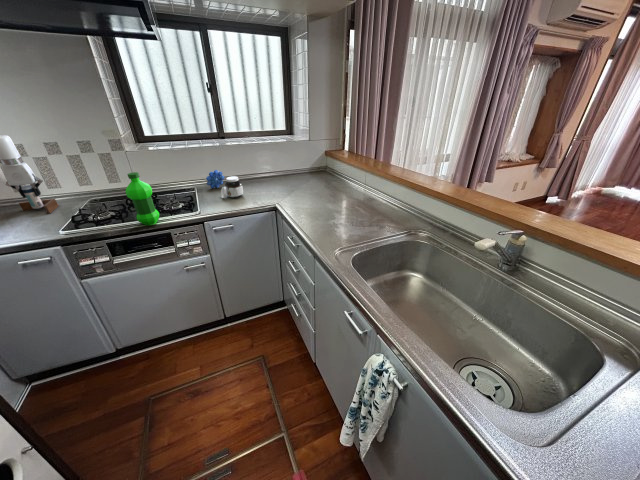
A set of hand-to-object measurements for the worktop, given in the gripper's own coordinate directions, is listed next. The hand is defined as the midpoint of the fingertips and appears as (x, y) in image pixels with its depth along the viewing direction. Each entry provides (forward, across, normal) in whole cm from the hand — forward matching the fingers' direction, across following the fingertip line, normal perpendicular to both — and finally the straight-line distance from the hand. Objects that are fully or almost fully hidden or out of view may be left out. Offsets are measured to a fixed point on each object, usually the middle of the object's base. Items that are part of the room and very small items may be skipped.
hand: (32, 195), depth 142 cm
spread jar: (+8, +100, -20) cm, 102 cm away
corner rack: (+9, -1, -1) cm, 9 cm away
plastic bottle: (+8, +58, -41) cm, 71 cm away
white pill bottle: (+7, 0, 0) cm, 7 cm away
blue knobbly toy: (+8, +92, +2) cm, 93 cm away
